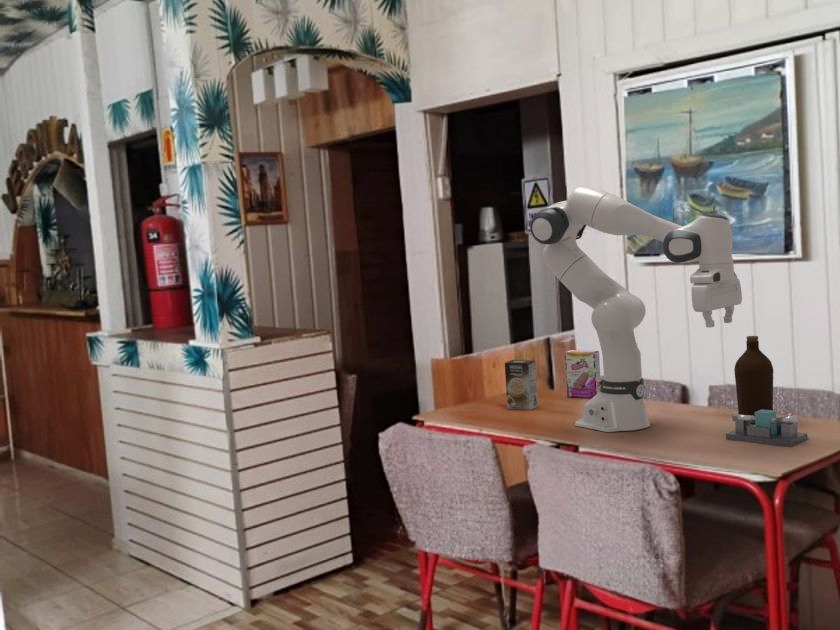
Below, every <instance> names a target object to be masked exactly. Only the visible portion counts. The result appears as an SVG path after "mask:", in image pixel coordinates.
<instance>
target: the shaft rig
mask: <svg viewBox="0 0 840 630" xmlns="http://www.w3.org/2000/svg"><path fill="white" fill-rule="evenodd" d="M732 421H733V422H735V423H734V424H735V425H734V427H735V429H733V430H731V431H729V432H727V433H725V440H730V441H737V442H738V441H739V442H746V443H756V444H764V445H771V446H780V447H789V448H790V447H792V446H796V445H797V444H799V443H801V442H804V441H806V440H808V433H807V432H801V431H800V432H798V423H800V416H799V415H798V414H793V415H789V416H782V417H776V425H777V433H775V434H773V435H771V428H765V427H755V425H751V423H754V422H755V417H754V416H751V415H741V414H737V413H733V414H732Z"/></svg>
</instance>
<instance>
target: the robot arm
mask: <svg viewBox="0 0 840 630" xmlns="http://www.w3.org/2000/svg"><path fill="white" fill-rule="evenodd" d="M587 226H588V227H590V228H592V229H593V230H596V231H598V232H600V233H605V234H607V235H611V236H612V235H613V236H643V237H644V236H645V237H648V238H651V239H654V240H656V241H659V242H661V243H662V251H663V253H664V256H665V257H666V258H667V259H668V260H669V261H671V262H672V263H676V264H686V263H687V264H688V263H693V262H698V263H699V264H698V267H699V268H698V269H696V271H695V272H694V273H693V274H691V275H690V276H689V282H690V284H692V286H691V302H692V304H691V305H692V308H693V310H694V312H697V313H702V317H703V319H704V321H705V327H706V328H709V329H710V328H714V327H715V320H713V316H712V315H713V311H714V310H715V311H716V310H720V309H724V311H725V313H724V316H722V317H723V323H724V324H731V323H732V322H733V314H734V311H735V306H738V305H741V304H742V301H743V295H742V294H743V293H742V287H741V280H740V279H739V278H738V274H737V273H735V270H734V269H735V268H734V267H735V266H734V264H735V263H734V258H733V255H732V250H733V235H732V234H733V233H732V227H731V223H730V220H729V219H728V217H726V216H725V215H723V214H718V213H717V214H716V213H702V214H700V215H699V216H698V217H697V218H695V219H694V220H693V221H691V222H689V223H688V224H685V225H682V224H680V223H677V222H673V221H671V220H668V219H665V218H663V217H660V216H657V215H655V214H652V213H650V212H648V211H646V210H644V209H642V208H641V207H638V206H637V205H634V204H632V203H630V202H629V201H627V200H626V199H623V198H621V197H620V196H617V195H615V194H613V193H610V192H607V191H604V190H602V189H598V188H593V187H590V186H583V185H581V186H577V187H575V188H574V189H572V190H571V191H570V193H569V195H568V196H567V199H565V200H563V201H559V202H555V203H552V204H551V205H549V206H547V207H545V208H543V209H541V210H539V211H537V212H536V214H534V216H532V218H531V220H530V224H529V231H530V234H531V236H532V238H534V240H535V241H537V243H539V244H541V245H545V246H544V248H543V251H542V260H544V262H545V264H546V266H547V267H548V268H549V270H550V271H551V273H552V274H553V275H554V276H555V278H557V280H559V282H560V283H562V284H563V286H565V287H566V289H567V290H568V291H569V292H570V293H571V294H572V295H573V296H574V297H575V298H576V299H577V300H579V301H580V302H582V303H584V304H586V305H587V306H589V307H590V308H592V309H593V311H592V312H591V324H592V326H593V328H594V330H595V331H596V334H597V338H598V342H599V346H600V349H601V355H602V367H603V370H602V371H603V379H602V380H601V382H598V383H599V384H598V383H597V384H598V385H597V386H601V387H600V392H599V393H598V394H596V395H595V396H594V397H593V398H590V400H588V401H586V403H585V404H584V405H583V409H582V418H580V419H577V420H576V421H575V427H576V426H577V427H581V428H585V429H590V430H594V431H595V430H596V431H600V432H605V433H612V432H613V433H614V432H629V431H638V430H643V429H646V428H649V427H650V426H651V423H650V420H649V416H648V413H647V410H646V404H645V383H644V378H643V371H642V354H641V353H642V352H641V350H640V349H639V347H638V344H637V341H636V337H635V331H634V329H635V328H638V327H639V326H640V325H641V323H642V322H643V320H644V318H645V316H646V305H645V303H644V302H643V300H642V299H641V297H638V296H636V295H634V294H633V293H631V292H630V291H629V290H628V289H627V288H625V287H624V286H622V285H621V284H620V283H619V282H617V281H616V280H614V279H613V278H611V277H610V276H609V275H608V274H606V273H605V272H604V270H602V269H601V267H599V266H598V265H597V264H596V263H595V262H594V261H593V260H592V259H591V258H590V257H589V256H588V255H587V254H586V253H585V252H584V251H583V250H582V249H581V248H580V247H579V245H578V244H577V240H579V239H581V238H582V236H583V234H584V231H585V229H586V227H587Z"/></svg>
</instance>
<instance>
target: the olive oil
mask: <svg viewBox="0 0 840 630" xmlns="http://www.w3.org/2000/svg"><path fill="white" fill-rule="evenodd" d="M745 343H746V349H745V351H744V352H743V353H742V354H741V355H740V356H739V358H738V359H737V360H736V361H735V364H734V370H733V371H734V378H735V389H736V391H735V392H736V400H737V413H738V414H741V415H751V416H754V417H755V412H756V411H759V410H773V411H774V367H773V363H772V361H771V360H770V358H769V357H768V356H767V355H765V353H763V352H762V351H761V349H760V346H759V344H760V342H759V336H758V335H748V336H746V341H745ZM751 426H755V422H754V423H751Z"/></svg>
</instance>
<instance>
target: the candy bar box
mask: <svg viewBox="0 0 840 630" xmlns="http://www.w3.org/2000/svg"><path fill="white" fill-rule="evenodd" d="M564 357H565V358H564V359H565V376H566V377H565V379H566V393H567V395H566V396H567V398H570V399H571V398H575V399H577V398H578V399H579V398H581V399H592V398H593V397H594V396H595V395H596V394H598V393H599V392H600V387H601V386H597V385H598V384H599V383H598V382H601V381H602V380H601V379H602V378H601V366H600V365H601V364H600V362H601V361H600V350H591V349H590V350H584V349H583V350H581V349H570V350H567V351H564ZM597 383H598V384H597Z"/></svg>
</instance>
